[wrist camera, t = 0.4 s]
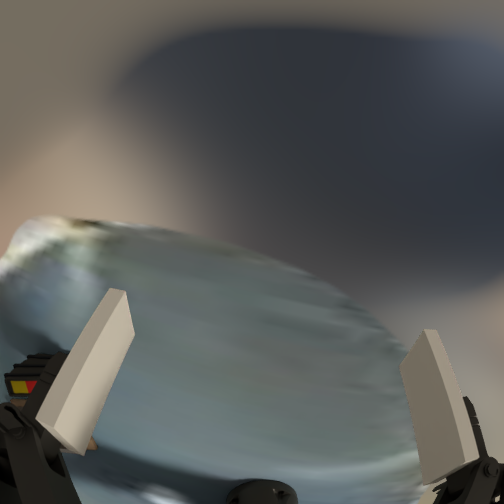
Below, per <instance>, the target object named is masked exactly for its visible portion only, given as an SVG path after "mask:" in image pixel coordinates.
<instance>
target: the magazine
mask: <svg viewBox="0 0 504 504" xmlns="http://www.w3.org/2000/svg"><path fill="white" fill-rule="evenodd" d="M53 356H54V355H47V354H39V353H38V354H36V355H28V356H27V360H25V361H23V362H22V363H21V364H14V365H13V367H14V369H13V370H12V371H11V372H10V373H5V374H4V376H5V383H6V387H7V390H8V393H9V395H10V396H14V397H29V395H30V393H31V391H32V389H33V388H34V386H35V384H36V382H37V380H39V377H40V375H41V373H42V372H43V370H44V368H45V366H46V364H47V363H48V361H49V359H51V358H52V357H53Z"/></svg>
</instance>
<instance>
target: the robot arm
mask: <svg viewBox="0 0 504 504" xmlns="http://www.w3.org/2000/svg"><path fill="white" fill-rule="evenodd" d="M134 335H135V333H134V329H133V324H132V320H131V315H130V311H129V306H128V301H127V296H126V291H122V290H118V289H113V288H110V289H109V290H108V292H107V293H106V295H105V296H104V298H103V299H102V301H101V302H100V304H99V306H98V307H97V309H96V310H95V312H94V313H93V315H92V317H91V318H90V320H89V321H88V323H87V325H86V326H85V328H84V330H83V331H82V333H81V335H80V336H79V338H78V340H77V341H76V343H75V345H74V346H73V348H72V350H71V352H70V353H69V355H67V354H64V353H61V352H58V353H57V354H55V355H54V356H53V357H52V358H51V359H49V361H48V363H47V364H46V366H45V368H44V370H43V372H42V373H41V375H40V377H39V380H37V382H36V384H35V386H34V388H33V389H32V391H31V393H30V395H29V397H28V399H27V401H26V403H25V405H24V407H23V408H22V410H21V411H20V410H19V409H18V408H17V407H16V406H15V405H14V404H12V403H9V402H6V403H2V404H0V504H82V503H81V501H80V499H79V497H78V495H77V492H76V490H75V487H74V485H73V483H72V480H71V478H70V475H69V473H68V470H67V467H66V464H65V462H64V459H63V456H62V453H61V451H60V446H61V444H62V445H63V446H64V447H66V448H67V449H68V450H71V451H73V452H75V453H77V454H80V455H82V456H84V455H85V452H86V449H87V446H88V444H89V441H90V438H91V436H92V433H93V431H94V428H95V425H96V423H97V420H98V418H99V415H100V413H101V410H102V408H103V406H104V403H105V401H106V398H107V396H108V394H109V391H110V389H111V386H112V384H113V382H114V380H115V377H116V375H117V373H118V370H119V368H120V366H121V364H122V361H123V359H124V357H125V355H126V353H127V350H128V348H129V346H130V344H131V342H132V340H133V337H134ZM399 369H400V373H401V376H402V380H403V384H404V388H405V392H406V396H407V400H408V404H409V409H410V413H411V418H412V422H413V427H414V432H415V437H416V442H417V448H418V453H419V459H420V465H421V472H422V479H423V486H424V485H428V484H432V483H436V482H438V481H440V480H442V479H444V478H446V479H447V481H446V482H444V483H442V484H440V485H438V486H437V487H435V488H434V489H433V492H435V491H437V490H439V489H441V490H440V491H438V492H437V493H436V494H438V495H437V497H436V499H435V501H434V503H433V504H504V464H501V463H498V462H497V460H496V459H495V458H493V457H489V456H488V454H487V451H486V447H485V443H484V439H483V436H482V432H481V429H480V426H479V425H478V424H479V422H478V419H477V418H476V412H475V410H474V406H473V404H472V403H471V402H470V400H469V399H468V397H467V396H466V397H462V395H461V392H460V389H459V386H458V383H457V380H456V377H455V375H454V372H453V369H452V367H451V365H450V362H449V359H448V357H447V354H446V352H445V349H444V347H443V344H442V342H441V340H440V337H439V335H438V332H437V330H428V329H424V330H423V331H422V333H421V335H420V336H419V338H418V339H417V341H416V342H415V344H414V345H413V347H412V348H411V350H410V351H409V353H408V354H407V355H406V357H405V358H404V360H403V361H402V363H401V364H400V365H399ZM499 495H500V500H499V501H498V502H495V497H497V496H499ZM227 504H298V498H297V494H296V492H295V490H294V489H293V488H292V487H290V486H289V485H287V484H285V483H282V482H278V481H271V480H260V481H253V482H248V483H245V484H242V485H240V486H238V487H236V488H235V489H233V490H232V491H231V492H230V493H229V495H228V497H227Z"/></svg>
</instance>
